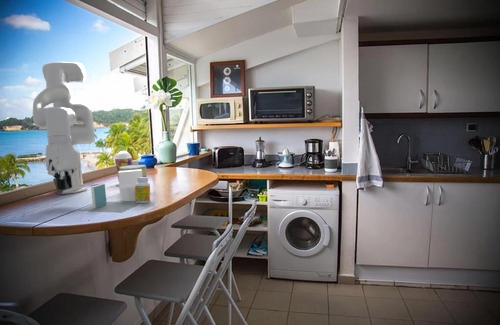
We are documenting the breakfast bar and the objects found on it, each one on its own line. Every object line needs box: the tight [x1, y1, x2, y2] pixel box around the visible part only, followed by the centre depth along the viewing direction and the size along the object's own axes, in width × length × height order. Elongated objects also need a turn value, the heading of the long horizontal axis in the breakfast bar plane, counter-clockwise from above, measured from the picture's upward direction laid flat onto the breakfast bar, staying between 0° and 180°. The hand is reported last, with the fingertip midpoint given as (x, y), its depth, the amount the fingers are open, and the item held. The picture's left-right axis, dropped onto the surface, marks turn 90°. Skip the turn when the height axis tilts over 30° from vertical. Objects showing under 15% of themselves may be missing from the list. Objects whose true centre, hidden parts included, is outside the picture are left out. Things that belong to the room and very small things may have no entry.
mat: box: [77, 201, 143, 214], centre depth 118 cm, size 18×13×1 cm
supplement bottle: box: [134, 176, 151, 204], centre depth 124 cm, size 5×5×10 cm
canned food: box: [119, 164, 148, 177], centre depth 143 cm, size 11×11×12 cm
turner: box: [52, 175, 95, 195], centre depth 121 cm, size 14×5×6 cm, turn 75°
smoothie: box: [114, 145, 133, 182], centre depth 166 cm, size 8×8×20 cm
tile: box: [90, 183, 108, 208], centre depth 119 cm, size 1×6×8 cm, turn 166°
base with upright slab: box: [117, 169, 142, 202], centre depth 130 cm, size 9×9×12 cm
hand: (64, 188), depth 122 cm, fingers closed on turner
